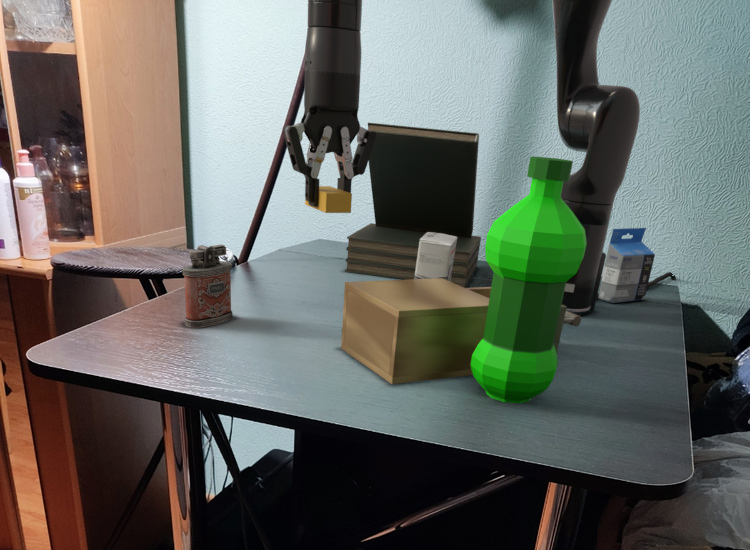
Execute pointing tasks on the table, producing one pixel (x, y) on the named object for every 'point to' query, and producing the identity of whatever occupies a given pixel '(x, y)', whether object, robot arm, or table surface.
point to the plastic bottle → (528, 286)
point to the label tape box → (626, 267)
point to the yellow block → (333, 200)
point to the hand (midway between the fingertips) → (327, 205)
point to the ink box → (435, 256)
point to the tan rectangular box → (413, 327)
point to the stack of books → (418, 201)
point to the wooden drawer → (564, 318)
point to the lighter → (207, 287)
